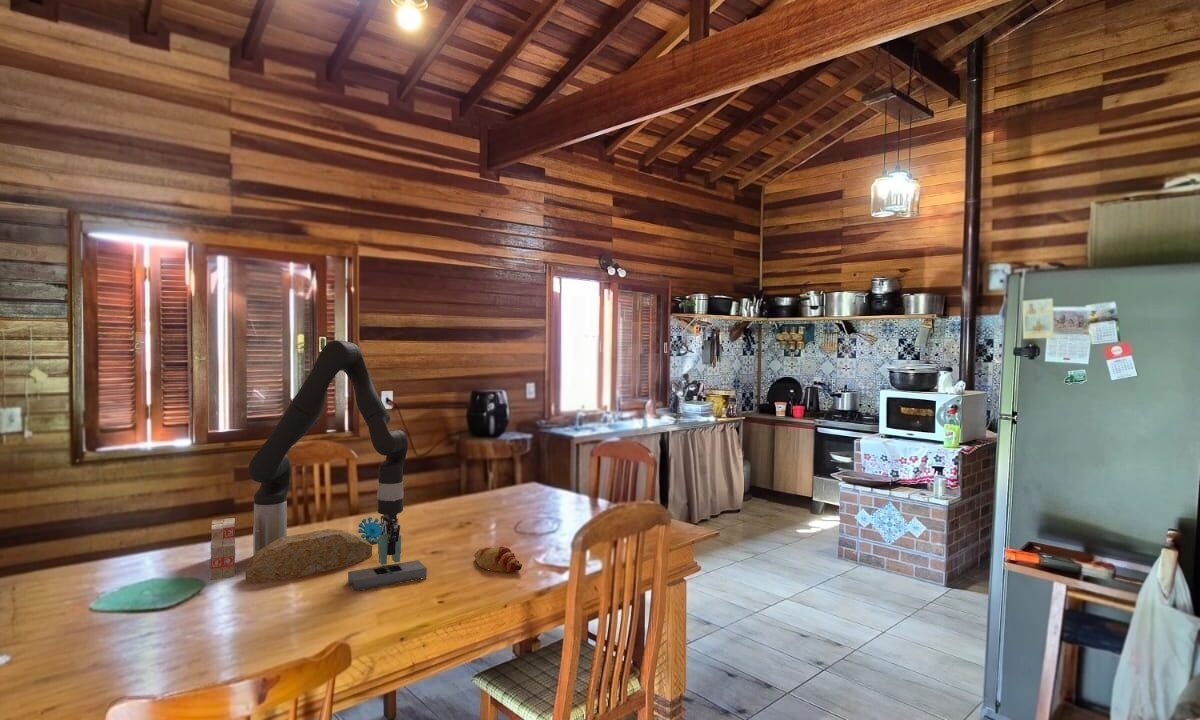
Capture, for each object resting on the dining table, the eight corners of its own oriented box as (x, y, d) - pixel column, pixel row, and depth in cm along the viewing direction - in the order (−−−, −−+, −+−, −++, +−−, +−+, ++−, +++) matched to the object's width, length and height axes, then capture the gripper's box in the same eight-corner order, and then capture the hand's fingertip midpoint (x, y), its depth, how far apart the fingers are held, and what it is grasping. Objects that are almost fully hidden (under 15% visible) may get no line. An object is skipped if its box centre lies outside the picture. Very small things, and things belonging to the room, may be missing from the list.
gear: (362, 542, 221) (356, 516, 226) (355, 551, 224) (350, 526, 229) (393, 540, 228) (387, 515, 234) (386, 549, 231) (380, 525, 237)
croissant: (468, 572, 208) (458, 552, 205) (490, 550, 215) (481, 531, 212) (514, 587, 194) (504, 566, 191) (536, 564, 201) (527, 543, 198)
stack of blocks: (235, 576, 192) (235, 534, 192) (210, 580, 189) (209, 537, 189) (235, 555, 211) (235, 517, 211) (212, 558, 208) (212, 519, 208)
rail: (354, 591, 182) (354, 580, 182) (348, 582, 189) (348, 571, 188) (426, 578, 192) (426, 567, 192) (418, 570, 199) (418, 560, 199)
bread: (253, 587, 184) (252, 552, 184) (241, 577, 192) (241, 543, 192) (377, 559, 209) (377, 528, 209) (362, 551, 217) (362, 520, 217)
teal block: (380, 564, 200) (380, 538, 200) (377, 561, 202) (378, 535, 202) (400, 561, 203) (401, 535, 203) (397, 558, 206) (398, 532, 205)
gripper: (372, 493, 206) (371, 548, 207) (383, 503, 194) (383, 561, 195) (396, 490, 210) (395, 545, 211) (409, 500, 198) (408, 557, 199)
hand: (389, 552), depth 203 cm, fingers closed on teal block, 3 cm apart
